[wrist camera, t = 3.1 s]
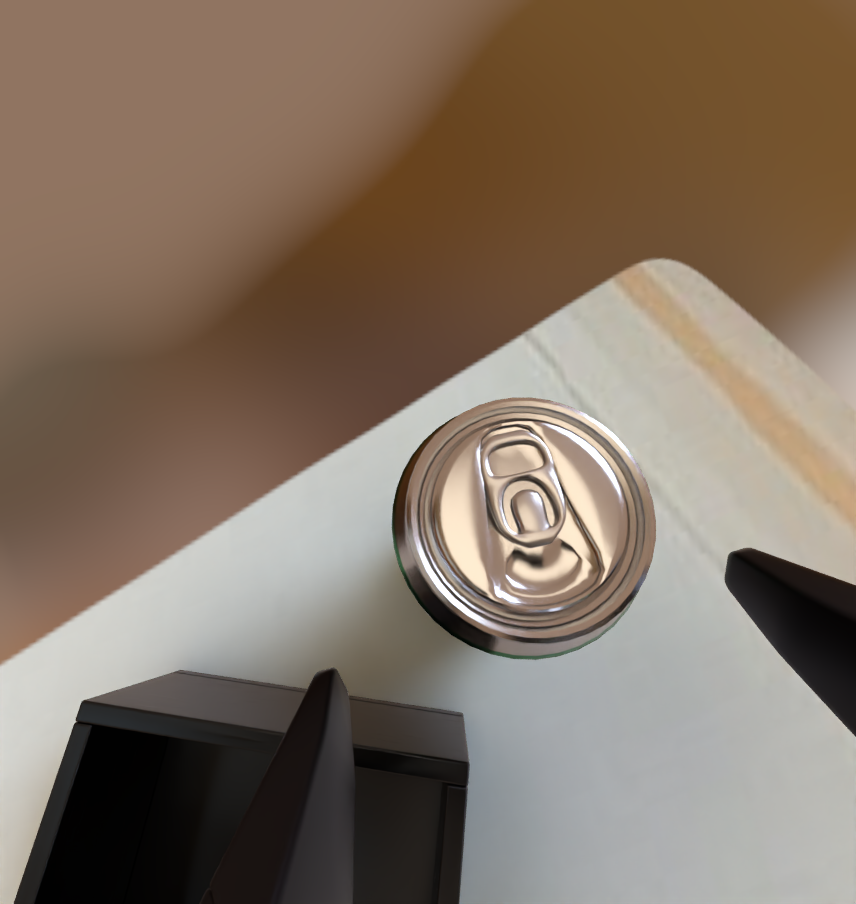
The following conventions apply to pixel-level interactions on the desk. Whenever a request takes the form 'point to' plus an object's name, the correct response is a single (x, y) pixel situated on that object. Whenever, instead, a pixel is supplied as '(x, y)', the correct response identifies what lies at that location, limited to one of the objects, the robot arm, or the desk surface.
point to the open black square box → (238, 793)
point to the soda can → (524, 528)
